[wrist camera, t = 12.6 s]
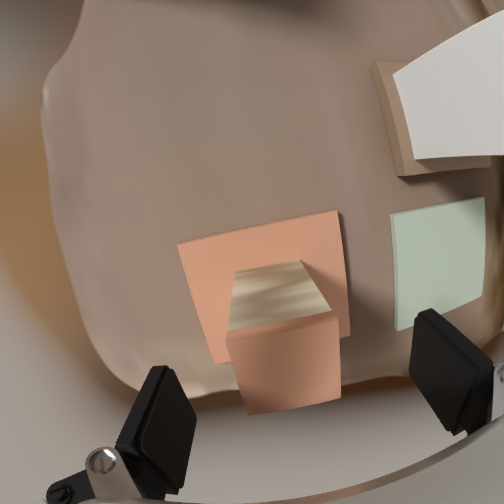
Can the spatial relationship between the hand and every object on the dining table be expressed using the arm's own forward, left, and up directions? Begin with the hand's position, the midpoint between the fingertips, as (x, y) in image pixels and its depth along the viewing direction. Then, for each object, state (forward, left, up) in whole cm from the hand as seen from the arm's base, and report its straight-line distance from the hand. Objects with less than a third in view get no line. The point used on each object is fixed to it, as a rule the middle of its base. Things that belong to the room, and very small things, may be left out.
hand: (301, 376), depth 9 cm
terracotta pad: (0, 0, -9) cm, 9 cm away
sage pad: (-14, +1, -9) cm, 16 cm away
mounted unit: (-15, -10, -9) cm, 20 cm away
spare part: (0, 0, -8) cm, 8 cm away
